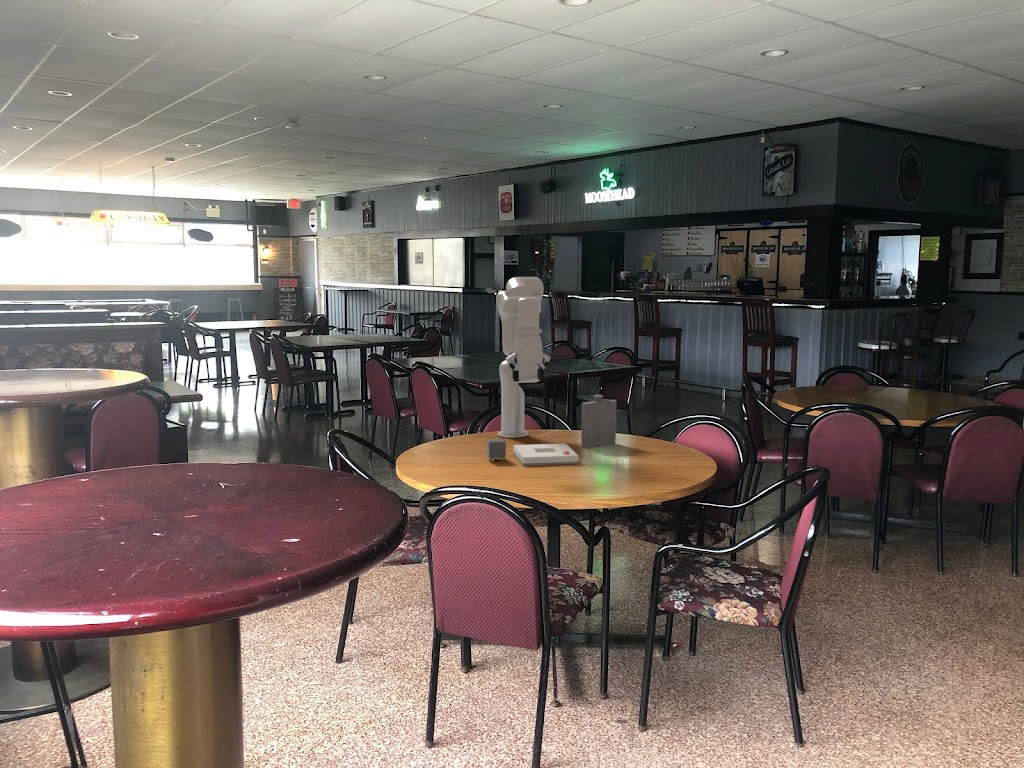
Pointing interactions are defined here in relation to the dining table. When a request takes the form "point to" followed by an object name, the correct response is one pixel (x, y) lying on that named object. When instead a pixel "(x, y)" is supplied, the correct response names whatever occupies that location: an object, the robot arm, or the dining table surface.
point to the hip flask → (598, 422)
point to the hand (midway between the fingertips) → (528, 380)
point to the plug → (496, 448)
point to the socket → (545, 454)
